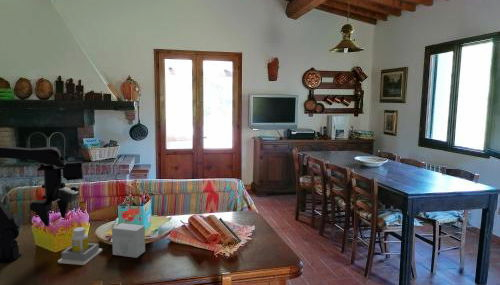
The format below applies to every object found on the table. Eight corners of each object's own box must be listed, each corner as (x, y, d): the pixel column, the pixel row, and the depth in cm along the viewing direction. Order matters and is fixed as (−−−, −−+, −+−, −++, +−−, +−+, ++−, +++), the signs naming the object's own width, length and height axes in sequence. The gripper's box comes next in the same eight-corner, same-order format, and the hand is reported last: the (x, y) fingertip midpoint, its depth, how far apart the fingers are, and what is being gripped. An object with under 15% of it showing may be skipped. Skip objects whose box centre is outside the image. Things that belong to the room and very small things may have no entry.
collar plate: (58, 262, 129) (57, 254, 128) (78, 248, 141) (77, 240, 140) (84, 265, 128) (83, 256, 127) (102, 250, 139) (101, 242, 139)
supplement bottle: (87, 250, 138) (86, 225, 136) (89, 255, 133) (88, 230, 132) (72, 252, 135) (70, 227, 134) (73, 258, 130) (71, 232, 129)
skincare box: (145, 251, 140) (145, 225, 138) (136, 258, 134) (136, 231, 132) (122, 247, 142) (121, 222, 141) (112, 254, 136) (111, 228, 135)
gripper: (56, 189, 123) (59, 232, 126) (87, 176, 142) (89, 214, 144) (26, 187, 125) (29, 230, 127) (61, 175, 143) (63, 213, 145)
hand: (55, 221), depth 136 cm, fingers open, 9 cm apart
